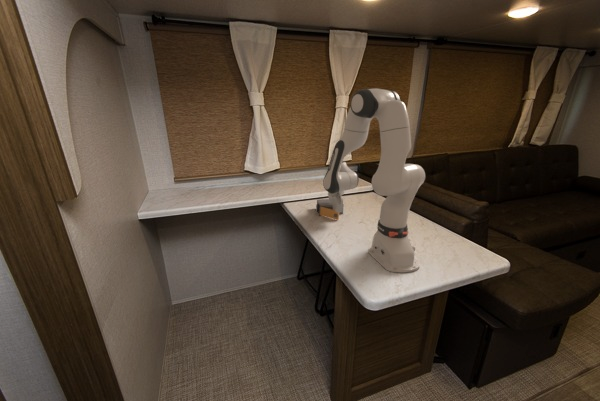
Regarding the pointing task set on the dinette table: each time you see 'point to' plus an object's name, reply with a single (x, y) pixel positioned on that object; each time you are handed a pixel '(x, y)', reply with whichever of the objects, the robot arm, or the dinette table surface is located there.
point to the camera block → (325, 204)
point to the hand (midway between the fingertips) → (334, 212)
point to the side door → (328, 213)
